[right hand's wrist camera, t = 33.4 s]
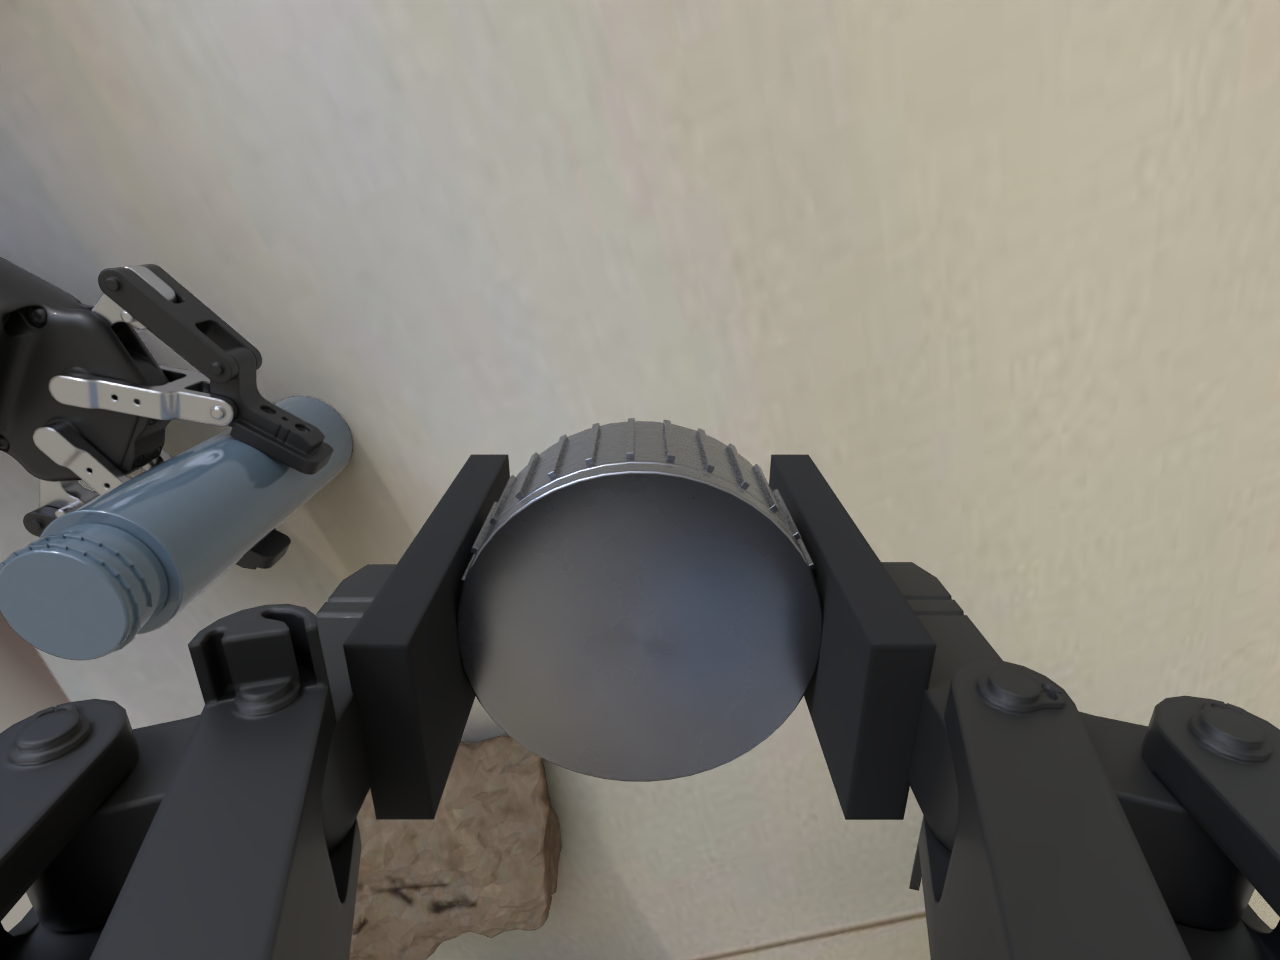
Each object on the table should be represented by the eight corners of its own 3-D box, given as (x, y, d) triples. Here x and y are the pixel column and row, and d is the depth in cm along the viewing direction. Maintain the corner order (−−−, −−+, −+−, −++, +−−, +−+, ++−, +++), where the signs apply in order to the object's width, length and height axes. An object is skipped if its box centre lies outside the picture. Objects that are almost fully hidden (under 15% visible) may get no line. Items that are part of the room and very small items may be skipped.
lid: (563, 356, 11) (544, 394, 9) (857, 504, 12) (905, 571, 10) (437, 622, 13) (396, 707, 11) (700, 731, 14) (712, 829, 11)
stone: (261, 945, 47) (220, 1025, 41) (221, 743, 45) (172, 797, 39) (568, 886, 50) (571, 953, 44) (544, 693, 48) (544, 736, 42)
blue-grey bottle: (369, 432, 37) (166, 597, 21) (326, 496, 39) (104, 696, 23) (289, 377, 36) (12, 508, 20) (247, 445, 38) (-43, 618, 22)
